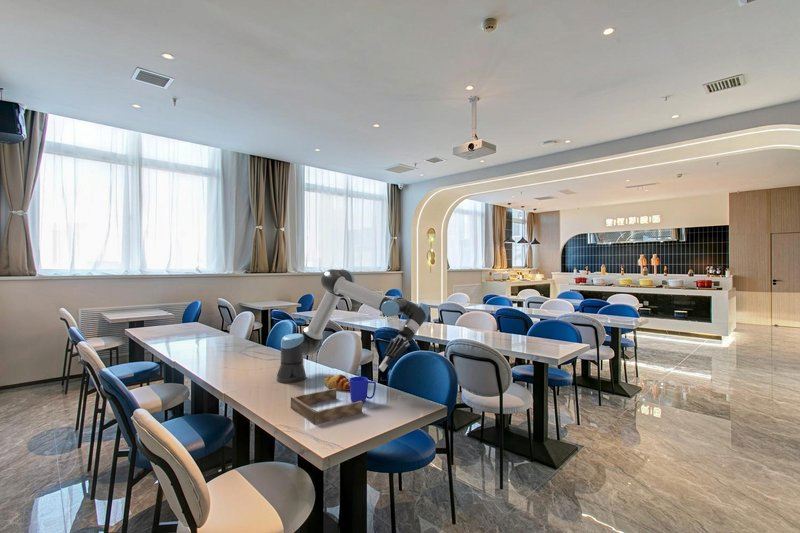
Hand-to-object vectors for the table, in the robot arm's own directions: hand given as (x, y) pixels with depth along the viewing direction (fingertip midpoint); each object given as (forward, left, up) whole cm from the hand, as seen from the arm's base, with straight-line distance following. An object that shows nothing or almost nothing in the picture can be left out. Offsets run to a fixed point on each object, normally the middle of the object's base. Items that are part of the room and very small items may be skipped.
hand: (381, 369), depth 175 cm
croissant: (-7, -26, -13) cm, 30 cm away
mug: (+8, -5, -13) cm, 16 cm away
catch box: (+23, -14, -13) cm, 30 cm away
